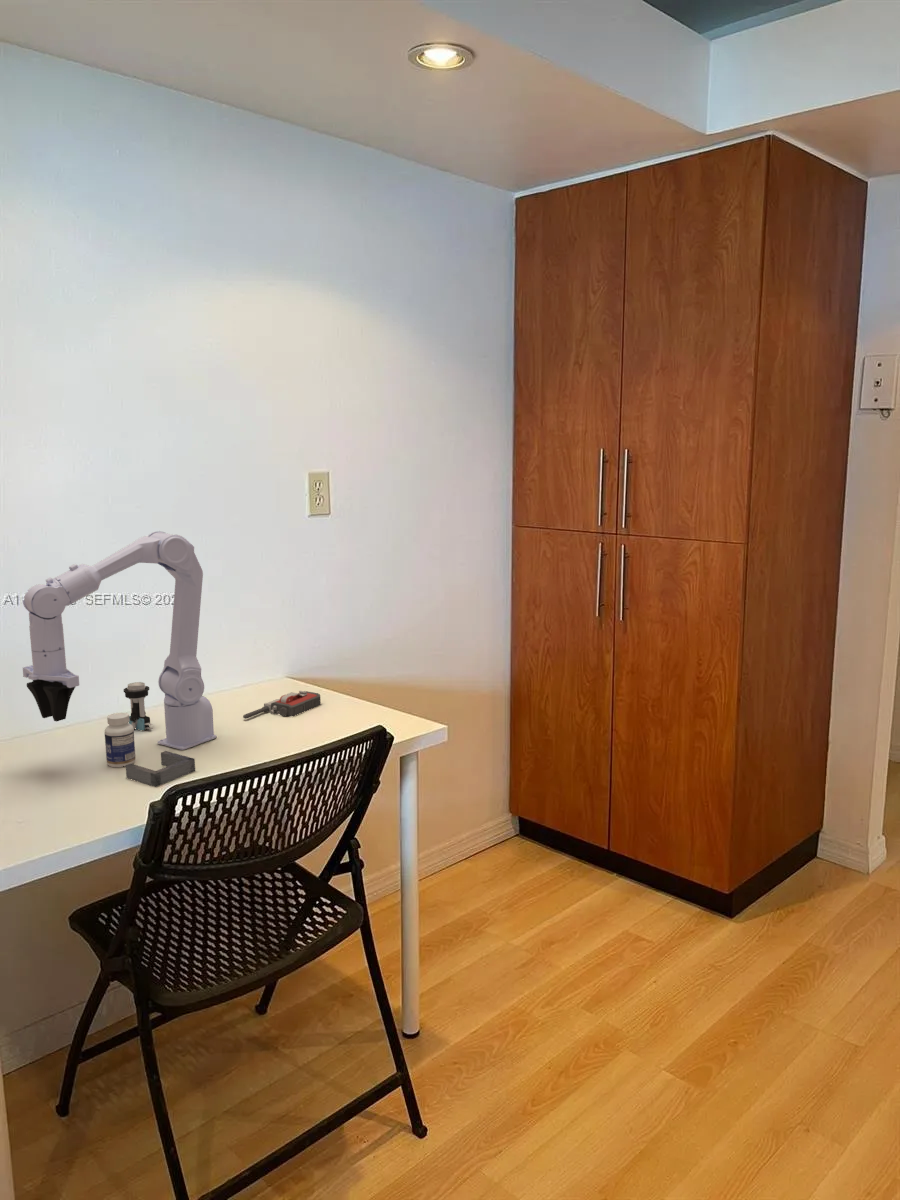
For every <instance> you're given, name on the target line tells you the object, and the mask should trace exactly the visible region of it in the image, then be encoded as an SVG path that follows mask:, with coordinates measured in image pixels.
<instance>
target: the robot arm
mask: <svg viewBox="0 0 900 1200" xmlns="http://www.w3.org/2000/svg"><path fill="white" fill-rule="evenodd" d="M141 563H142V564H156V565H157V564H158V565H159V566H161V567H163V568H164V569H165V570H166V571H167V572H168V573H169V574H170V575H171V576H172V577H173V578H174V580H175V583H174V594H173V610H172V618H171V619H172V620H171V630H170V631H171V633H170V646H169V647H170V648H169V655H167V657H166V658H165V660H164V664H163V669H162V670H161V673H160V675H159V677H158V681H157V683H158V688H159V690H160V691H161V692H162V693H164V699H163V706H164V722H165V738H162V739H159V740H157V741H156V743H157V744H158V745H163V746H166V747H169V748H174V749H177V750H180V751H185V750H187V749H190V748H192V747H195V746H197V745H200V744H203V743H206V742H208V741H211V740H212V741H213V740H214V739H216V738H217V737H218V736H217V734H215V731H214V729H215V728H214V713H213V712H214V711H213V709H214V708H213V706H212V705H213V704H212V703H211V701H210V699H208V698H207V697H206V696H203V694H204V692H205V682H204V680H203V677H202V667H201V664H200V662H199V660H198V657H197V651H198V650H197V649H198V638H199V627H200V615H201V604H202V602H201V601H202V592H203V591H202V589H203V588H202V587H203V578H204V572H203V568H202V566H201V564H200V562H199V560H198V558H197V555H196V553H195V546H194V545H193V544H192V543H191V542H190V541H189V540H187V538H185V537H184V536H182V535H179V534H173V533H172V534H171V533H167V532H164V531H160V530H159V531H158V530H157V531H152V532H151V533H149V534H148V535H144V536H141V537H138V538H137V539H135V540H134V541H132V542H131V543H129V544H127V545H126V546H124V547H122V548H121V549H119V550H117V551H115V552H113V553H111V554H110V555H109V556H106V557H105V558H103V559H101V560H99V561H97V562H95V564H93V565H88V564H85V563H81V564H79V565H78V564H76V563H74V564H71V565H69V566H68V569H69V570H67V571H65V572H63V573H61V574H59V575H57V576H55V577H54V578H52V577H47V578H46V579H45V582H46V584H45V583H43V584H42V583H41V584H40V583H39V584H34V585H32V586H31V587H30V588H29V589H27V592H26V593H25V595H24V599H22V604H23V607H24V608H25V610H26V611H28V620H29V637H30V638H29V639H30V650H31V660H32V661H31V662H32V665H27V666H23V667H22V674H23V676H22V677H24V678H26V679H27V678H28V680H31V681H30V682H27V683H26V687H27V689H28V690H29V692H30V693H31V695H32V696H33V697H34V700H35V702H36V705H37V707H38V710H39V713H40V715H41V718H43V719H47V718H50V717H52V719H53V721H54V722H59V721H63V720H66V718H67V713H68V708H69V705H70V704H69V703H70V699H71V697H72V695H73V692H74V690H75V689H76V687H79V686H80V677H79V675H77V674H74V673H73V672H71V671H70V669H67V662H66V661H67V660H66V659H67V658H66V648H65V647H66V645H65V637H64V635H65V634H64V626H63V625H64V624H63V618H62V614H63V613H64V611H65V608H66V607H68V606H71V605H72V604H75V603H76V602H78V601H80V600H82V599H83V598H86V597H87V596H89V595H91V594H92V593H95V592H96V591H98V590H99V588H100V585H101V583H102V581H103V580H105V579H108V578H110V577H113V576H114V575H116V574H119V573H120V572H122V571H124V570H126V569H128V568H131V567H133V566H135V565H137V564H141Z"/></svg>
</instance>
